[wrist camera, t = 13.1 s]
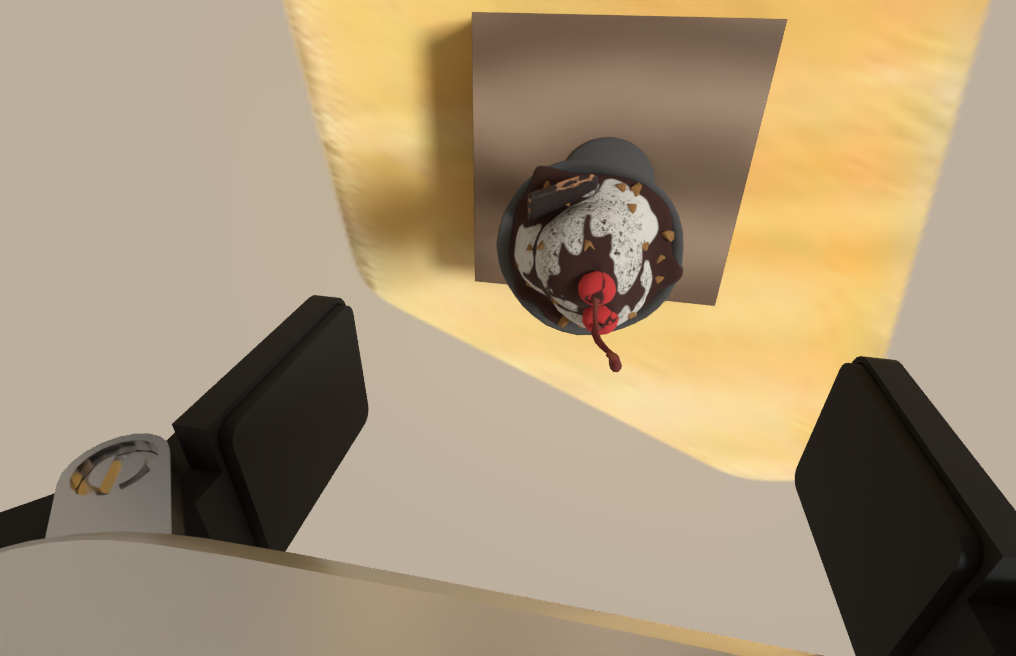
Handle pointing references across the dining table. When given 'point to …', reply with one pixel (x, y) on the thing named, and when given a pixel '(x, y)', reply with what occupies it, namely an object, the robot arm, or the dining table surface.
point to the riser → (623, 115)
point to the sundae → (592, 242)
